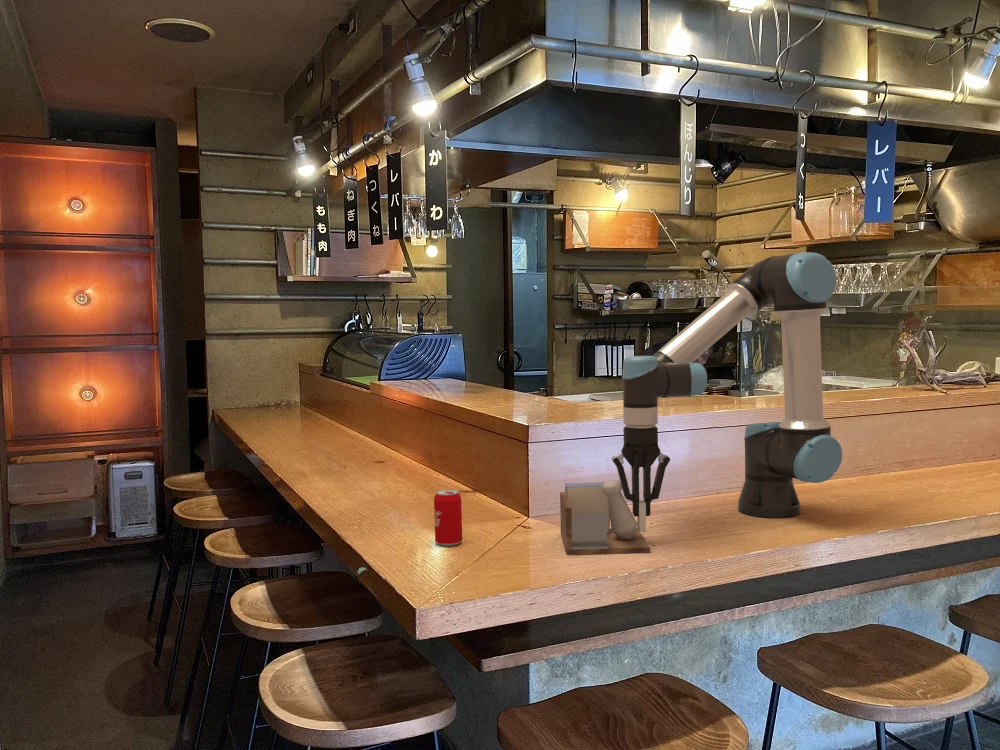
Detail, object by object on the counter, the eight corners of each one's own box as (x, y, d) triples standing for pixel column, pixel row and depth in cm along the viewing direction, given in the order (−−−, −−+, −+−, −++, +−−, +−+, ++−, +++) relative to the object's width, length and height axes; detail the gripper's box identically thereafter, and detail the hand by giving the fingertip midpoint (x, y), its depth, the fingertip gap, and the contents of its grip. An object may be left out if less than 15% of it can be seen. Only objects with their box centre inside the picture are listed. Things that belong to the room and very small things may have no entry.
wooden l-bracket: (637, 533, 186) (636, 490, 185) (650, 552, 170) (649, 506, 170) (560, 534, 186) (560, 491, 185) (566, 554, 170) (565, 507, 170)
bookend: (606, 544, 173) (606, 512, 173) (608, 548, 170) (608, 516, 169) (570, 545, 173) (570, 513, 173) (572, 549, 170) (571, 517, 169)
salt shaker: (620, 544, 174) (603, 489, 172) (610, 537, 180) (593, 484, 178) (644, 533, 175) (627, 479, 174) (633, 527, 181) (616, 475, 179)
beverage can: (448, 538, 186) (446, 487, 185) (468, 542, 182) (466, 490, 181) (429, 544, 181) (428, 492, 180) (449, 548, 177) (448, 495, 176)
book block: (607, 528, 186) (606, 482, 185) (610, 533, 182) (609, 486, 181) (565, 529, 186) (565, 483, 185) (567, 534, 182) (566, 487, 181)
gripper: (666, 422, 180) (667, 525, 181) (608, 424, 180) (610, 526, 181) (673, 427, 172) (674, 534, 174) (613, 428, 172) (615, 535, 174)
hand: (641, 530), depth 177 cm, fingers closed
